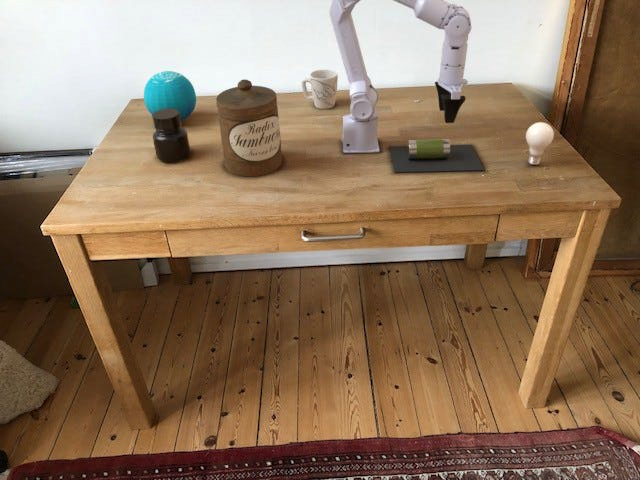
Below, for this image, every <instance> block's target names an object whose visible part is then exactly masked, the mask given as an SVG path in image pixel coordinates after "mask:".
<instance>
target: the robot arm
mask: <svg viewBox="0 0 640 480" xmlns="http://www.w3.org/2000/svg"><path fill="white" fill-rule="evenodd" d="M360 1H361V0H331V4H330V8H329V10H328V11H329V18H330V21H331V24H332V28H333V32H334V36H335V38H336V42H337V46H338V49H339V53H340V56H341V57H340V58H341V60H342V62H343V67H344V70H345V75H346V79H347V81H348V87H349V98H350V106H349V111H350V114H346V115H343V116H342V135H341V143H342V150H343V153H344V154H364V153H365V154H368V153H369V154H371V153H380V145H379V141H378V140H379V139H378V124H379V112H378V111H377V109H376V106H377V103H378V100H379V92H378V91H377V89H376V88H375V87H374V85H373V84H372V81H371V78H370V77H369V75H368V71H367V69H366V65H365V61H364V57H363V53H362V50H361V46H360V42H359V38H358V34H357V31H356V27H355V23H354V19H353V15H352V12H353V10H354V8H355V6H356V5H357V4H358V3H360ZM393 2H396V3H398V4H400V5H403V6H405V7H407V8H409V9H412V10H413V13H414V16H415V18H416V19H419V20H420V21H422V22H424V23H427V24H429V26H432V27H435V28H437V29H438V30H444V40H443V42H442V50H441V58H440V67H439V76H438V80H437V81H434V85H435V88H436V91H437V92H436V93H437V98H438V108H439V112H444V113H443V114H444V115H443V116H444V118H443V119H444V122H445V124H454V123H455V121H456V118H457V115H458V113H459V111H460V109H461V107H462V106H463V104H464V103H465V102H466V99H467V98H466V96H465V95H462V88H463V86H464V85H465V86H466V85H468V82H469V80H468V79H467V78H464V76H465V67H466V61H467V53H468V46H469V45H468V41H469V34H471V31H472V29H473V27H472V20H471V16H470V12H469V11H468V10H467V9H465V8H464V7H463V6H461V5H458V4H456V3H455V2H452V3H450V2H447V1H445V0H393Z"/></svg>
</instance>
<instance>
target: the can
mask: <svg viewBox="0 0 640 480" xmlns="http://www.w3.org/2000/svg"><path fill="white" fill-rule="evenodd" d="M450 145H451V142H450V139H448V138H443V139H442V138H440V139H439V138H436V139H433V138H432V139H408V140H407V142H406V146H407V158H408V159H441V158H449V155H450Z"/></svg>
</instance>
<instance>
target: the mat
mask: <svg viewBox="0 0 640 480" xmlns="http://www.w3.org/2000/svg"><path fill="white" fill-rule="evenodd" d="M389 152H390V155H391V156H390V157H391V160H392V166H393V170H394V174H411V173H412V174H413V173H415V174H417V173H458V172H459V173H460V172H461V173H463V172H485V168H484V166H483V164H482V163H481V160H480V158H479V156H478V154H477V152H476V150H475V148H474V146H473V144H450V155H449V158H441V159H408V158H407V145H404V146H403V145H398V146H397V145H395V146H392V145H391V146H389Z"/></svg>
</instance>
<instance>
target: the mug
mask: <svg viewBox="0 0 640 480" xmlns="http://www.w3.org/2000/svg"><path fill="white" fill-rule="evenodd" d="M338 77H339V75H338V72H337V71H336V70H333V69H318V70H313V71H312V72H310V74H309V77H305V78H303V80H302V81H301V88H302V92H303V96H304V98H305V99H306V100H308V101H313V104H314V106H315V108H317V109H320V110H326V109H327V110H328V109H331V108H333V107H334V106H335V104H336V99H337V91H338V81H339V80H338ZM307 83H309V84H310V90H311V94H312V95H309V93H308V89H307V88H308V87H307Z"/></svg>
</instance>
